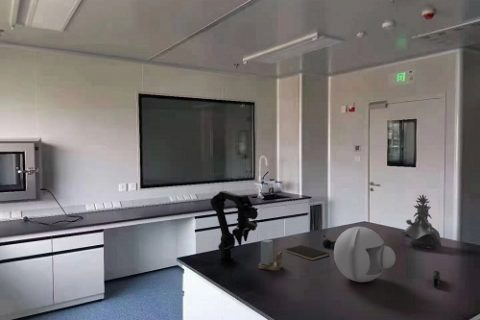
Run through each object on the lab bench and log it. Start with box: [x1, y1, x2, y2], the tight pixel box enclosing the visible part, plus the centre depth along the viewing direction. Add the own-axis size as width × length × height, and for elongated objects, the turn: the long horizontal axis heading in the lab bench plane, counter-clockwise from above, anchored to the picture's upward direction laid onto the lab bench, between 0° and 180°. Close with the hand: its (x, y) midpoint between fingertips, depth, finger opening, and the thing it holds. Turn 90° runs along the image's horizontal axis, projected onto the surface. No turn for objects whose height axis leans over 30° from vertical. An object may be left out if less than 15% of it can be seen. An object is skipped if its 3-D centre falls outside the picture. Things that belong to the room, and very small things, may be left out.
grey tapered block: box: [260, 238, 274, 265], centre depth 206 cm, size 5×6×13 cm
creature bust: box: [401, 194, 442, 249], centre depth 244 cm, size 24×23×35 cm
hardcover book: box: [284, 244, 330, 261], centre depth 231 cm, size 16×23×2 cm
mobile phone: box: [432, 270, 441, 290], centre depth 179 cm, size 5×3×15 cm
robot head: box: [333, 226, 397, 283], centre depth 183 cm, size 28×30×28 cm
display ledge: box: [257, 250, 283, 272], centre depth 205 cm, size 12×8×9 cm, turn 69°
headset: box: [322, 234, 337, 251], centre depth 242 cm, size 13×9×19 cm
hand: (242, 243), depth 209 cm, fingers open, 9 cm apart
